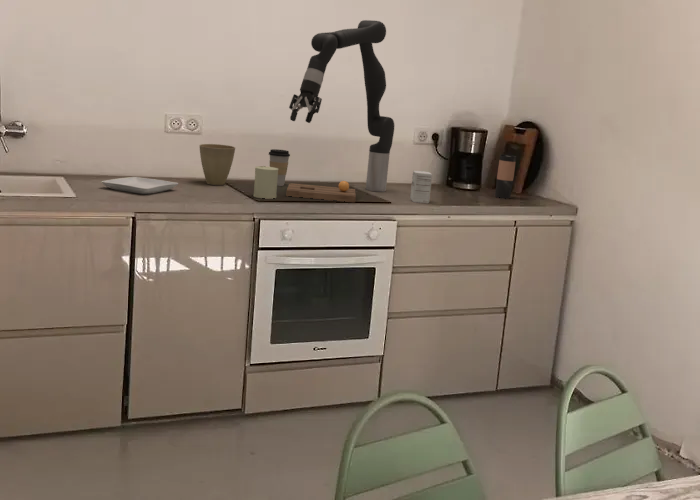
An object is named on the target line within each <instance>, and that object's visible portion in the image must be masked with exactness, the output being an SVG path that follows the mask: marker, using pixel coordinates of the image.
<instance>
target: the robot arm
mask: <svg viewBox="0 0 700 500" xmlns="http://www.w3.org/2000/svg"><path fill="white" fill-rule="evenodd" d="M386 35H387V28H386V25H385V24H384V23H383V22H382V21H380V20H369V19H365V20H364V19H363V20H360V22H359V23H358V25H357V27H356V28H344V29H340V30H336V31H332V32H331V31H329V32H319V33H316V34H315V35H314V36H312V38H311V40H310V41H311V43H310V44H311V48H312V49H313V50H314V51H315V52H318V53H317V54H314V55H312V56H311V57H310V59H309V62H308V65H307V68H306V71H305V73H304V75H303V78H302V82H301V85H300V88H299V91H300V94H299V95H298V94H292V95H293V96H292V97H291V101H290V103H289V107H288V108H289V109H290V110H291V114H290V118H289V119H290V121H292V122H295V121H296V120H297V117H298V112H299V111H300V110H302V109H303V108H307V109H308V112H307V115H306V117H305V122H306V123H308V124H311V122H312V120H313V116H314V115H315V114H318V113H319V111H320V107H321V104H322V101H323V99H322V98H321V97H319V94H320V92H321V91H320V90H321V88H322V84H323V81H324V77H325V73H326V69H327V66H328V64H329V63H330V61H331V60H332V58H333V56H334V54H335V53H336V51H337V50H341V49H344V48H348V47H352V46H356V45H359V49H360V51H359V52H360V54H361V62H362V67H363V78H364V87H365V94H366V106H367V115H366V116H367V130H368V133H369V135H371V136H374V137H378V138H379V139H378V141H377V142H376V143H373V144H370V146H369V150H368V163H367V172H366V183H365V191H370V192H371V191H372V192H381V193H382V192H386V190H387V183H388V174H389V173H388V171H389V163H390V154H391V153H390V152H391V149H392V146H393V140H394V139H393V138H394V133H395V121H394V119H393V118H391V117H389V116H382V115H380V104H381V100H382V98H383V96H384V94H385V93H386V89H387V80H386V79H387V78H386V72H385V69H384V67H383V65H382V64H381V62H380V61H379V59H378V58H377V55H376V54H375V51H374V45H373V44H379V43H381V42H383V41H384V40H385V38H386Z"/></svg>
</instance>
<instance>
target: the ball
mask: <svg viewBox="0 0 700 500" xmlns="http://www.w3.org/2000/svg"><path fill="white" fill-rule="evenodd" d="M337 188H339V190H340V191H342V192H345V191H347V190H348V189H350V184H349V182H348V181H346V180H341V181H340V182H339V183H338V187H337Z"/></svg>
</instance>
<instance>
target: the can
mask: <svg viewBox="0 0 700 500" xmlns="http://www.w3.org/2000/svg"><path fill="white" fill-rule="evenodd" d="M254 169H255V170H254V171H255V172H254V173H255V174H254V186H253V195H252V196H253V197H254V198H257V199H262V198H265V199H264V200H274V199H273V198H275V199H277V192H278V191H277V190H278V189H277V188H278V186H277V178H278V168H274V167H270V166H266V165H263V166H255V167H254Z"/></svg>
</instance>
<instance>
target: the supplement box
mask: <svg viewBox="0 0 700 500" xmlns="http://www.w3.org/2000/svg"><path fill="white" fill-rule="evenodd" d="M432 180H433V173H431V172H430V171H423V170H413V171H412V178H411V187H410V195H409V196H410V197H409V199H410V201H412V202H413V203H419V204H420V203H421V204H429V203H430V197H431V190H432Z"/></svg>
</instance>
